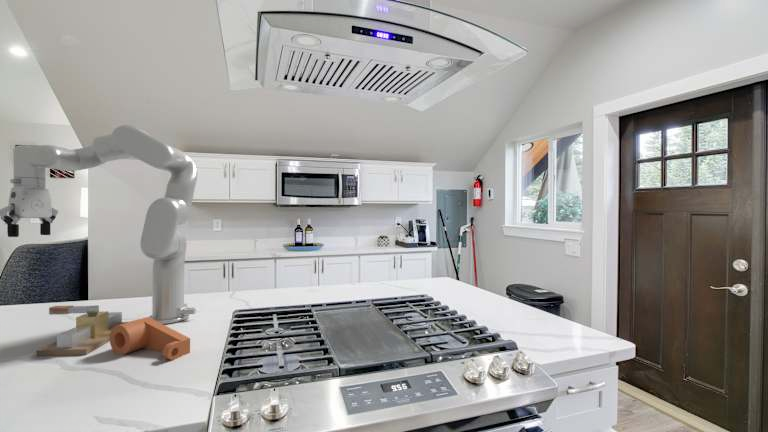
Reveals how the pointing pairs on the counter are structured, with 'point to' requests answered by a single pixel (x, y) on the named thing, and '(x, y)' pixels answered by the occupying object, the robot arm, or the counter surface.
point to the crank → (149, 338)
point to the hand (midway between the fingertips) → (30, 235)
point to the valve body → (88, 328)
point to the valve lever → (73, 309)
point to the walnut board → (77, 350)
